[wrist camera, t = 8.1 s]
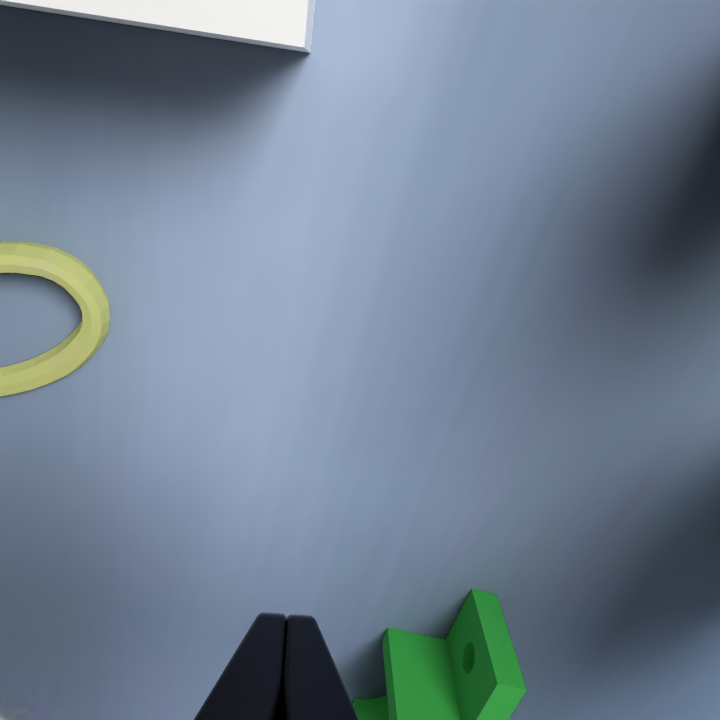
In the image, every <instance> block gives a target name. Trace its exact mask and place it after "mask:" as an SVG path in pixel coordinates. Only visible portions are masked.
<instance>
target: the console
mask: <svg viewBox="0 0 720 720" xmlns="http://www.w3.org/2000/svg"><path fill="white" fill-rule="evenodd" d="M315 4H316V0H0V5H4V6H11V7H17V8H24V9H30V10H36V11H43V12H49V13H56V14H62V15H69V16H75V17H82V18H88V19H94V20H101V21H107V22H114V23H120V24H127V25H133V26H140V27H146V28H152V29H159V30H165V31H172V32H178V33H185V34H191V35H198V36H204V37H210V38H217V39H223V40H230V41H236V42H243V43H249V44H256V45H262V46H268V47H275V48H281V49H288V50H294V51H301V52H307V53H311V46H312V35H313V25H314V14H315Z"/></svg>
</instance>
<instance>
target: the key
mask: <svg viewBox="0 0 720 720" xmlns="http://www.w3.org/2000/svg"><path fill="white" fill-rule="evenodd" d="M0 273H22V274H30V275H37V276H42V277H45V278H47V279H50V280H52V281H54V282H56V283H57V284H59V285H61V286H62V287H64V288H65V289H66V290H67V291H68V292H69V293H70V294H71V295H72V296H73V298H74V299H75V300H76V301H77V303H78V304H79V306H80V308H81V311H82V321H81V323H80V324H79V325H78V326H77V328H76V329H75V330H74V331H73V332H72V333H71V334H70V335H69V336H68V337H67V338H66V339H64V340H63V341H62V342H61V343H60V344H59V345H57V346H56V347H54V348H52V349H51V350H49V351H47V352H45V353H43V354H41V355H39V356H37V357H36V358H33V359H30V360H27V361H24V362H21V363H18V364H14V365H10V366H6V367H0V396H5V395H11V394H16V393H20V392H24V391H28V390H32V389H35V388H38V387H41V386H44V385H47V384H49V383H52V382H55V381H57V380H59V379H61V378H63V377H65V376H68V375H70V374H71V373H73V372H74V371H76V370H77V369H79V368H80V367H82V366H83V365H84V364H85V363H86V362H87V361H88V360H89V359H90V358H91V357H92V356H93V355H94V354H95V353H96V351H97V350H98V349H99V348H100V346H101V345H102V343H103V342H104V340H105V338H106V336H107V334H108V329H109V323H110V304H109V300H108V298H107V296H106V294H105V291H104V289H103V287H102V285H101V284H100V282H99V281H98V279H97V278H96V276H95V274H94V273H93V272H92V271H91V270H90V269H89V268H88V267H87V266H86V265H85V264H84V263H83V262H81V261H79V260H78V259H76V258H75V257H73V256H72V255H70V254H68V253H66V252H64V251H62V250H60V249H58V248H56V247H51V246H46V245H41V244H36V243H31V242H0Z"/></svg>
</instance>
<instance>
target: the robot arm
mask: <svg viewBox="0 0 720 720" xmlns="http://www.w3.org/2000/svg"><path fill="white" fill-rule="evenodd" d="M194 720H359V719H358V717H357V714H356V712H355V710H354V708H353V705H352V703H351V701H350V698H349V696H348V694H347V691H346V689H345V687H344V684H343V682H342V680H341V677H340V675H339V673H338V671H337V668H336V666H335V664H334V661H333V659H332V657H331V654H330V652H329V650H328V647H327V645H326V643H325V640H324V638H323V636H322V633H321V631H320V629H319V627H318V624H317V622H316V620H315V619H314V618H313V617H312V616H306V615H289V616H288V617H287V620H286V616H285V615H284V614H278V613H260V614H259V615H258V616H257V618H256V619H255V621H254V622H253V624H252V626H251V627H250V629H249V631H248V632H247V634H246V635H245V637H244V639H243V640H242V642H241V644H240V645H239V647H238V648H237V650H236V652H235V653H234V655H233V657H232V658H231V660H230V662H229V663H228V665H227V666H226V668H225V670H224V671H223V673H222V675H221V676H220V678H219V680H218V681H217V683H216V684H215V686H214V688H213V689H212V691H211V693H210V694H209V696H208V697H207V699H206V701H205V702H204V704H203V706H202V707H201V709H200V711H199V712H198V714H197V715H196V717H195V719H194Z"/></svg>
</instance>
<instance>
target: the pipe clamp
mask: <svg viewBox="0 0 720 720" xmlns="http://www.w3.org/2000/svg"><path fill="white" fill-rule="evenodd" d="M382 646H383V657H384V667H385V678H386V689H387V695H385V696H382V697H378V698H370V699H361V698H355V699H354V701H353V703H352V705H353V708H354V710H355V712H356V714H357V717H358V719H359V720H508V719H509V718H510V716H511V714H512V713H513V711H514V710H515V708H516V706H517V705H518V703H519V702H520V700H521V698H522V697H523V695H524V694H525V692H526V690H527V688H526V685H525V682H524V678H523V675H522V672H521V669H520V666H519V663H518V660H517V656H516V653H515V650H514V647H513V644H512V641H511V638H510V634H509V631H508V628H507V625H506V622H505V619H504V615H503V612H502V609H501V606H500V603H499V600H498V597H497V594H494V593H489V592H484V591H480V590H475V589H471V591H470V593H469V595H468V597H467V599H466V601H465V603H464V605H463V606H462V608H461V610H460V612H459V614H458V616H457V618H456V620H455V622H454V624H453V626H452V628H451V629H450V631H449V633H448V635H447V637H446V639H441V638H436V637H431V636H426V635H421V634H416V633H411V632H406V631H401V630H396V629H391V628H387V630H386V633H385V635H384V637H383V639H382Z"/></svg>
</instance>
